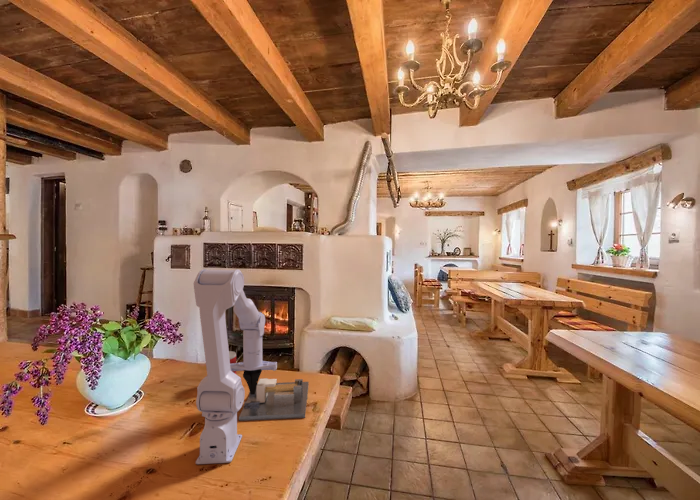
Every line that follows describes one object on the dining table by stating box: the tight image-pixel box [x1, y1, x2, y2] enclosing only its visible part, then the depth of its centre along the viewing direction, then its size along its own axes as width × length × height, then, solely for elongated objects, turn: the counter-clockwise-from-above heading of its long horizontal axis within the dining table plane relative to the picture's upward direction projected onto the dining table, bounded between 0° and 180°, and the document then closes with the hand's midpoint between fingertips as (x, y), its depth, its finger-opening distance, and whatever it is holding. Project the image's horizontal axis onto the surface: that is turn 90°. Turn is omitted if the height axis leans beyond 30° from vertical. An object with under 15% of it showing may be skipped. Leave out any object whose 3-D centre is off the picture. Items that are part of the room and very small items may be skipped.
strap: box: [265, 383, 300, 393], centre depth 94 cm, size 3×10×1 cm, turn 95°
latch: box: [257, 378, 278, 403], centre depth 93 cm, size 5×5×5 cm
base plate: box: [238, 378, 309, 422], centre depth 94 cm, size 20×19×6 cm
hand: (253, 392), depth 93 cm, fingers closed
